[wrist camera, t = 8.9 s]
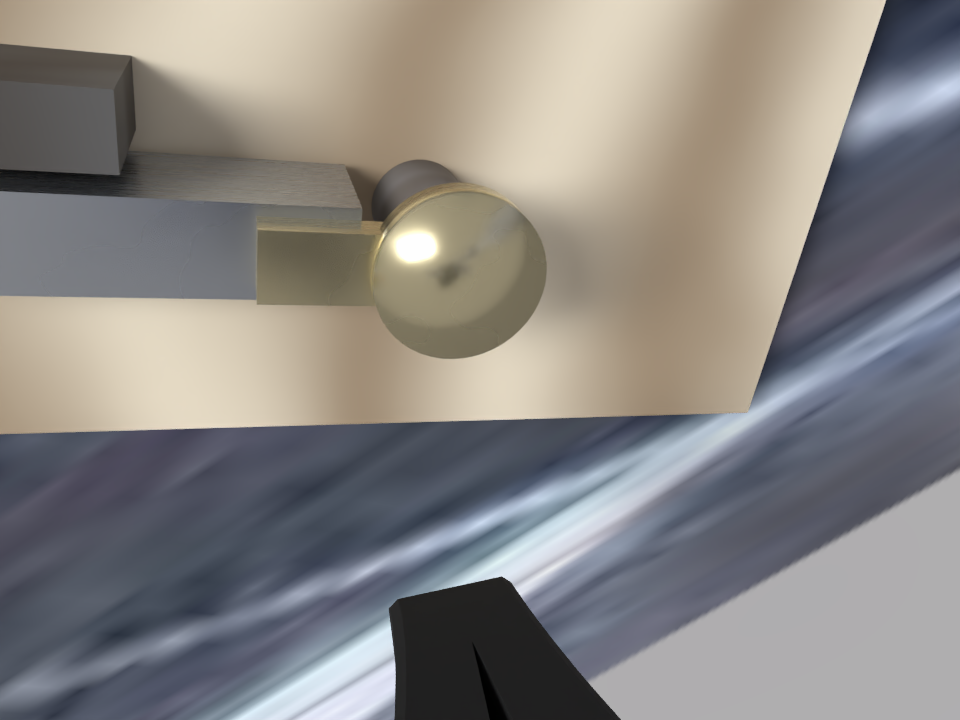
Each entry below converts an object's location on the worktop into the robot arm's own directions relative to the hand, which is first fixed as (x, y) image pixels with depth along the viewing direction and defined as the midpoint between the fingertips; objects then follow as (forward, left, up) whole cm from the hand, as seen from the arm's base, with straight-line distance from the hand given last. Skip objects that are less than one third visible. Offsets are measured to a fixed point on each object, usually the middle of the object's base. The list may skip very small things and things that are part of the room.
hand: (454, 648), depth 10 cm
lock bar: (+3, -2, -8) cm, 9 cm away
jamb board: (-1, -4, -9) cm, 10 cm away
